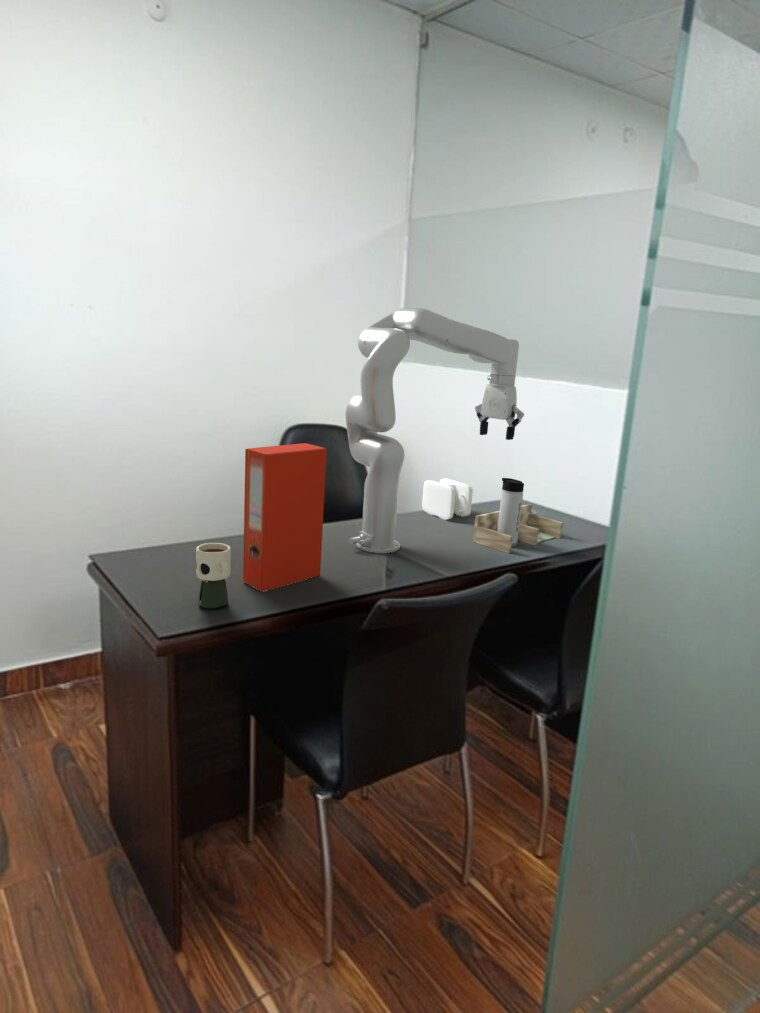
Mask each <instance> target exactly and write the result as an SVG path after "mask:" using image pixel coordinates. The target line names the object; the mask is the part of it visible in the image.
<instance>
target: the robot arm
mask: <svg viewBox="0 0 760 1013" xmlns="http://www.w3.org/2000/svg"><path fill="white" fill-rule="evenodd" d="M410 340H411V341H417V342H420V343H422V344H426V345H429V346H432V347H435V348H437V349H439V350H442V351H444V352H447V353H448V352H449V353H454V354H457V355H458V354H459V355H468V356H469V359H471V360H472V361H474V362H477V363H481V364H491V367H490V374H489V375H487V377H486V379H487V380H488V381H489V384H487V383H486V386H485V389H484V393H483V398H482V402H481V403H480V404H478V405H476V406H475V407H474V409H475V412H476V417H477V418H478V422H479V435H480V436H486V435H488V432H489V431H488V430H489V421H488V420H489V419H490V418H491V419H496V420H501V421H504V420H505V421H506V423H507V425H508V426H507V427H506V432H505V440H507V441H511V440H513V439H514V437H515V433H516V432H515V431H516V427H518V425H519V424H520V423H521V422H522V420H523V418H524V417H525V413H524V412H523V411H522V410H521V409H519V408H518V407H517V401H518V398H517V387H516V386H515V384H516V374H517V365H518V357H519V349H520V343H519V340H517V339H513V338H512V339H511V338H507V337H505V336H502V335H500V334H498V333H495V332H493V331H489V330H486V329H483V328H480V327H477V326H473V325H470V324H467V323H463V322H460V321H457V320H454V319H451V318H449V317H447V316H444V315H442V314H440V313H437V312H434V311H432V310H430V309H426V308H421V307H402V308H398V309H396V310H395V311H392V312H390V313H389V314H387V315H386V316H384V317H382V318H381V319H379V320H378V321H376V322H374V323H372V324H370V325H369V326H367V327H366V328H364V330H363V331H362V332H361V333H360V335H359V337H358V340H357V341H358V342H357V344H358V345H357V346H358V349H359V351H360V353H361V355H362V356H363V357H365V358H367V359H366V361H364V362H365V363H364V364H363V367H362V370H361V373H360V392H361V393H358V394H354V396H352V397H351V398H350V400H348V403H347V405H346V408H345V423H346V424H345V425H346V431H347V439H348V446H349V451H350V452H349V453H350V454H351V457H352V458H353V459H354V461H356V463H359V464H361V465H363V466H366V467H369V471H368V473H367V475H366V478H365V481H364V486H363V505H362V506H363V507H362V523H361V524H362V525H361V530H360V531H358V535H357V536H353V537H349V538H348V543H349V545H355V546H356V548H357V549H359V550H361V551H364V552H368V553H372V552H374V553H375V554H391V553H395V552H397V551H398V550H400V547H401V543H400V542H399V541H398V540H396V530H397V529H396V528H397V517H398V504H399V503H398V501H399V500H398V498H399V487H400V486H399V485H400V479H401V472H402V468H403V465H404V461H405V450H404V447H403V445H402V444H401V442H399V441H398V440H397V439H395V438H394V437H391V436H389V435H385V434H380V433H387V432H389V431H391V430H392V429H393V428H394V427H395V424H396V405H395V394H394V381H393V380H394V375H395V372H396V369H397V367H398V366H399V365H400V363H401V362H402V361H403V360H404V358H406V356H407V354H408V353H409V351H410V347H411V341H410ZM515 417H516V418H515ZM390 552H391V553H390Z"/></svg>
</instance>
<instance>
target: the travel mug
mask: <svg viewBox="0 0 760 1013" xmlns="http://www.w3.org/2000/svg"><path fill="white" fill-rule="evenodd" d="M501 481H502V487H501V495H500V501H499V502H500V504H499V510H498V511H499V520H498V529H497V532H501V533H504V534H507V535H510V536H512V544H511V548H513V547H516V546H517V545H518V542H519V540H518V533H519V524H520V516H521V508H522V505H523V497H524V488H525V483H524V482H523V481H521V480H520V479H519V480H518V479H514V478H510V477H509V478H508V477H502V478H501Z"/></svg>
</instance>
